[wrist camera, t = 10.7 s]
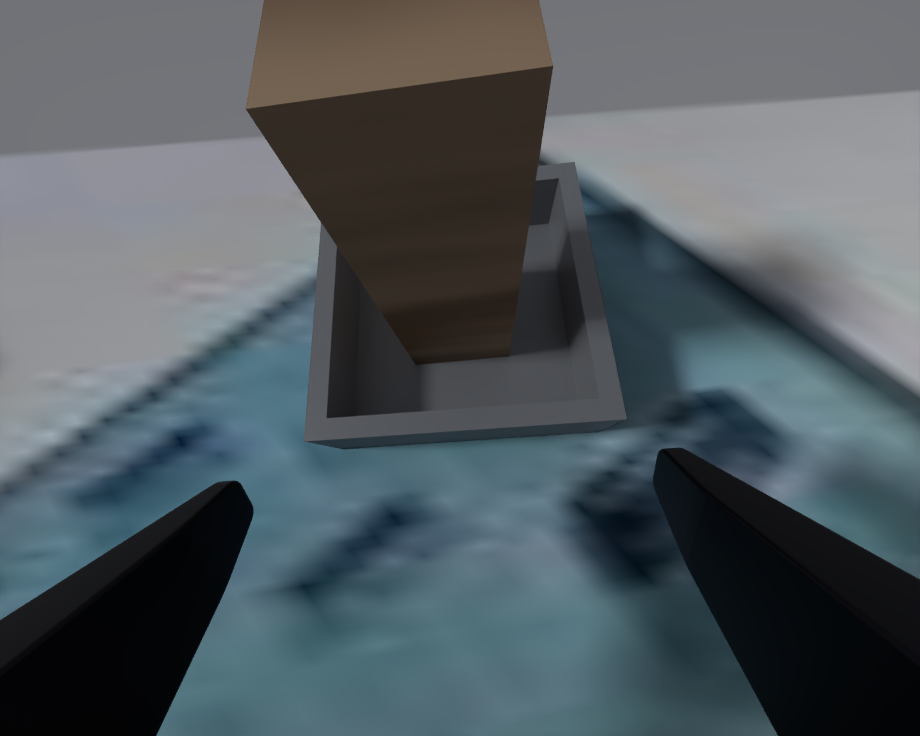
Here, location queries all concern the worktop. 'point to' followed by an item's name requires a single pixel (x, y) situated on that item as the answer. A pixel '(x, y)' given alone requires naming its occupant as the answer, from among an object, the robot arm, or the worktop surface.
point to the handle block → (414, 151)
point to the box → (482, 380)
